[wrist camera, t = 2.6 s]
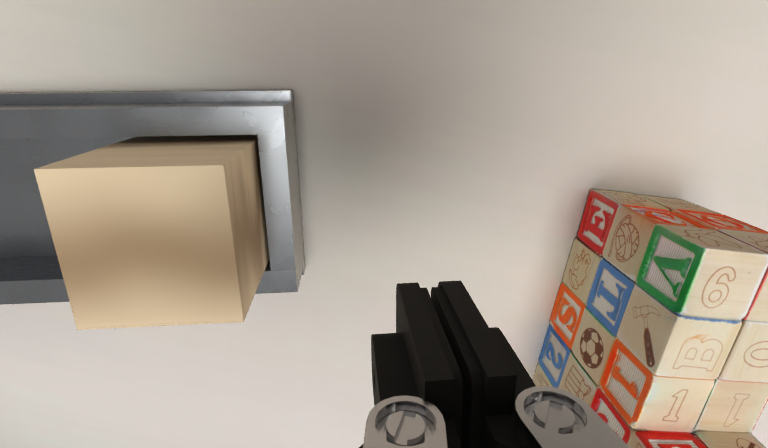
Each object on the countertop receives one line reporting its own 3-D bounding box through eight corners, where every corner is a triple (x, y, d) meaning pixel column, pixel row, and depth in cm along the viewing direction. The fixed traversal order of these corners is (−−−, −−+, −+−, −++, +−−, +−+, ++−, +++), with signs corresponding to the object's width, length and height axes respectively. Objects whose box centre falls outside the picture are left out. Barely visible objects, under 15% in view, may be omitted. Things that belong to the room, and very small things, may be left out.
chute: (-266, 95, 21) (-400, 101, 17) (292, 89, 23) (281, 94, 19) (-176, 285, 24) (-272, 325, 20) (305, 267, 26) (298, 300, 22)
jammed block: (141, 134, 22) (33, 169, 14) (265, 132, 22) (223, 164, 15) (162, 247, 24) (77, 329, 16) (275, 243, 24) (243, 321, 17)
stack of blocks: (586, 185, 26) (779, 279, 14) (682, 197, 27) (941, 296, 15) (504, 465, 33) (590, 682, 21) (583, 468, 33) (708, 679, 22)
